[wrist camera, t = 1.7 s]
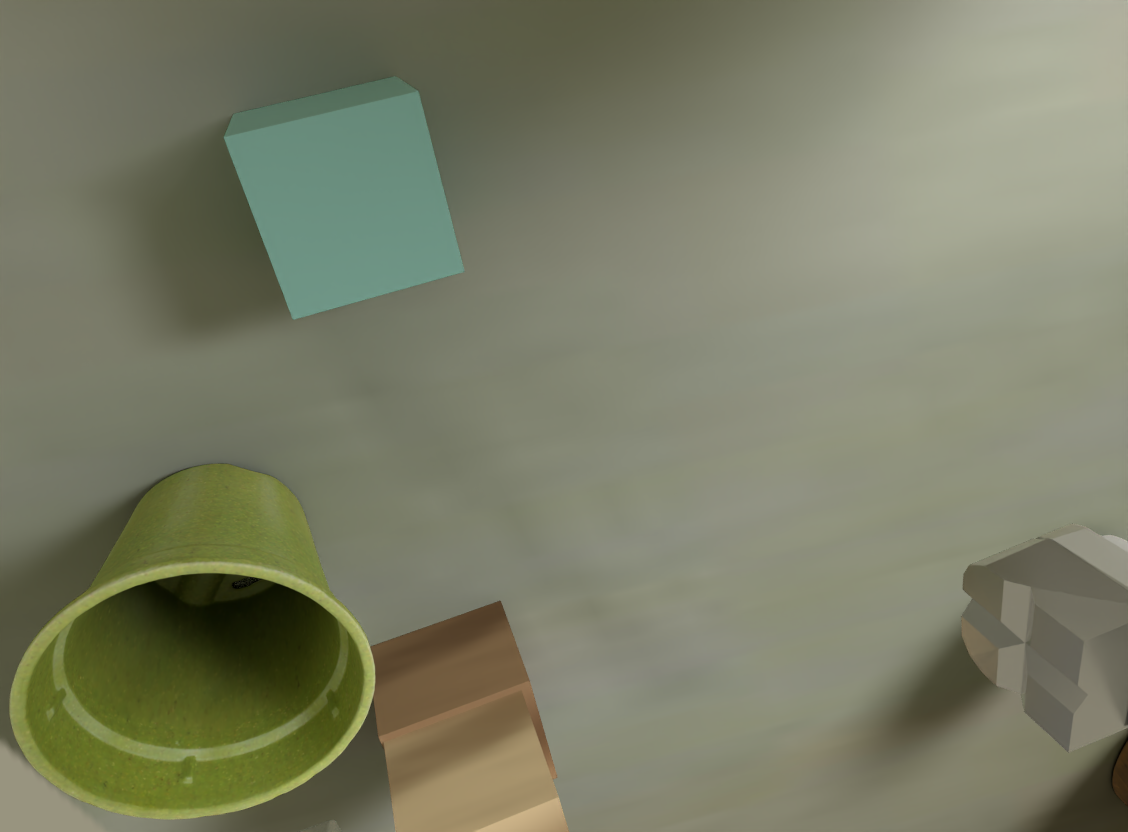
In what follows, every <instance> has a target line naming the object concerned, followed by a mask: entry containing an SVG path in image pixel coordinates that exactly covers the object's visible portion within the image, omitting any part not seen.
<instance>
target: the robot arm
mask: <svg viewBox="0 0 1128 832" xmlns="http://www.w3.org/2000/svg"><path fill="white" fill-rule="evenodd" d="M963 590H964V591H965V592H966V593H967V594H968V595H969V596H970V597H971V598H972V600H971V601H970V603H969V604H968V606H967V608H966V609H965V611H964V613H963V614H962V616H961V622H962V638H963V640H964V643H965V645H966V648H967V650H968V653H969V655H970V657H971V658H972V660H973V661H974V662H975V664H976V665H977V666H978V668H979V669H980V671H981V672H982V673H983V674H984V675H985V676H986V677H988V678H989V679H990V680H991V681H992V682H993V683H994V684H995V685H996V686H998V687H1001V688H1004V689H1007V690H1010V691H1013V692H1016V693H1019V694H1021V698H1022V703H1023V708H1024V712H1025V713H1026V714H1027V715H1028V716H1029V717H1030V718H1031V719H1032V720H1034V721H1035V722H1036V723H1037V724H1038V725H1039V726H1040V727H1041V728H1042V729H1043V730H1044V731H1046V732H1047V733H1048V734H1049V735H1050V736H1051V737H1052V738H1053V739H1054V740H1055V741H1056V742H1058V743H1059V744H1060V745H1061V746H1062V747H1063V748H1064V749H1065V750H1066V751H1067V752H1068V753H1069V752H1071V751H1074V750H1076V749H1078V748H1081V747H1083V746H1086V745H1088V744H1091V743H1093V742H1095V741H1098V740H1100V739H1103V738H1105V737H1107V736H1110V735H1112V734H1115V733H1117V732H1119V731H1122V730H1124V729H1127V728H1128V552H1126V551H1125V550H1123V549H1121V548H1120V547H1118V546H1116V545H1115V544H1113V543H1112V542H1110V541H1108V540H1107V539H1105V538H1104V537H1102V536H1100V535H1099V534H1097V533H1095V532H1094V531H1092V530H1091V529H1089V528H1087V527H1085V526H1081V525H1077V524H1073V523H1072V524H1069V525H1067V526H1064V527H1062V528H1059V529H1057V530H1054V531H1052V532H1049V533H1047V534H1044V535H1042V536H1039V537H1037V538H1036V539H1030V540H1028V541H1026V542H1023V543H1021V544H1018V545H1016V546H1013V547H1011V548H1009V549H1006V550H1004V551H1001V552H999V553H996V554H994V555H992V556H989V557H987V558H984V559H982V560H980V561H977V562H975V563H972V564H970V565H969V566H968V568H967V569H966V571H965V572H964V574H963ZM299 832H342V831H341V829H340V827H339V826H338V824H337V822H336V821H335V820H329V821H326V822H323V823H321V824H318V825H315V826H313V827H310V828H307V829H304V830H302V831H299Z"/></svg>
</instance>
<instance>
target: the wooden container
mask: <svg viewBox="0 0 1128 832" xmlns="http://www.w3.org/2000/svg"><path fill="white" fill-rule="evenodd" d="M1112 785H1113V789H1114V791H1115V793H1116V795H1117V796H1118V797H1119V798H1120V799H1121V800H1122V801H1123V802H1124V803H1125V804H1126V805H1127V806H1128V740H1127V742H1126V744H1125V745H1124V747H1123V749H1122V751H1121V753H1120V755H1119V757H1118V759H1117V762H1116V765H1115V768H1114V772H1113V777H1112Z"/></svg>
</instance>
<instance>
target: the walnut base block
mask: <svg viewBox="0 0 1128 832" xmlns="http://www.w3.org/2000/svg"><path fill="white" fill-rule="evenodd" d="M370 648H371V652H372V655H373V660H374V664H375V690H374V695H373V699H374V707H375V715H376V722H377V730H378V737H379V740H380V742H381V744H382V746H383V748H384V742H386V741H388V740H391V739H394V738H396V737H399V736H402V735H404V734H407V733H410V732H412V731H415V730H417V729H420V728H423V727H425V726H428V725H431V724H433V723H436V722H439V721H441V720H444V719H446V718H449V717H452V716H454V715H457V714H460V713H462V712H465V711H468V710H470V709H473V708H475V707H478V706H481V705H483V704H486V703H489V702H491V701H494V700H497V699H499V698H502V697H504V696H507V695H510V694H512V693H515V692H518V691H520V690H522V693H523V696H524V699H525V702H526V705H527V708H528V711H529V713H530V716H531V719H532V722H533V725H534V728H535V731H536V734H537V736H538V739H539V742H540V745H541V748H542V751H543V754H544V757H545V759H546V762H547V765H548V768H549V771H550V774H551V777H552V779H555V778H557V774H556V771H555V767H554V764H553V760H552V757H551V753H550V750H549V746H548V743H547V740H546V736H545V733H544V729H543V726H542V722H541V719H540V715H539V712H538V708H537V705H536V701H535V698H534V694H533V691H532V687H531V684H530V680H529V678H528V675H527V672H526V669H525V667H524V664H523V661H522V658H521V656H520V653H519V650H518V647H517V645H516V642H515V639H514V636H513V634H512V631H511V628H510V625H509V622H508V620H507V617H506V614H505V611H504V609H503V606H502V603H501V601H498V602H495V603H492V604H490V605H487V606H484V607H481V608H478V609H476V610H473V611H470V612H467V613H464V614H461V615H459V616H456V617H453V618H450V619H447V620H444V621H442V622H439V623H436V624H433V625H430V626H427V627H425V628H422V629H419V630H416V631H413V632H410V633H408V634H405V635H402V636H399V637H396V638H393V639H391V640H388V641H385V642H382V643H379V644H376V645H374V646H371V647H370ZM384 751H385V749H384Z"/></svg>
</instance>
